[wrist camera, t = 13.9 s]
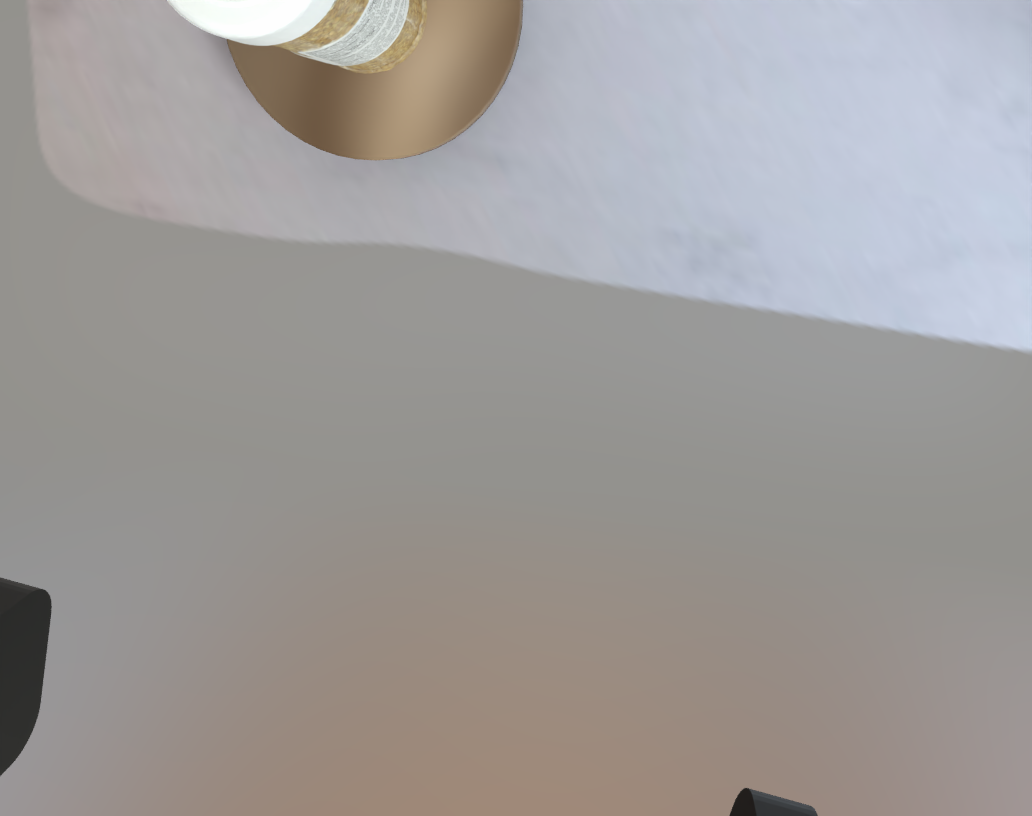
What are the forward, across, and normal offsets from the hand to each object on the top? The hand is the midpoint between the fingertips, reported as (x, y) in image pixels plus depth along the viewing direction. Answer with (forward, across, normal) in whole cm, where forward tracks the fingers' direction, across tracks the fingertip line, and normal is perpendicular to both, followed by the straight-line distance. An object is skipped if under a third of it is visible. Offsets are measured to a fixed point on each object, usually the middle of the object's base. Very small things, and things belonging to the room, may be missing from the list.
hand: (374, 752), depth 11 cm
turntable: (+29, +9, -10) cm, 32 cm away
